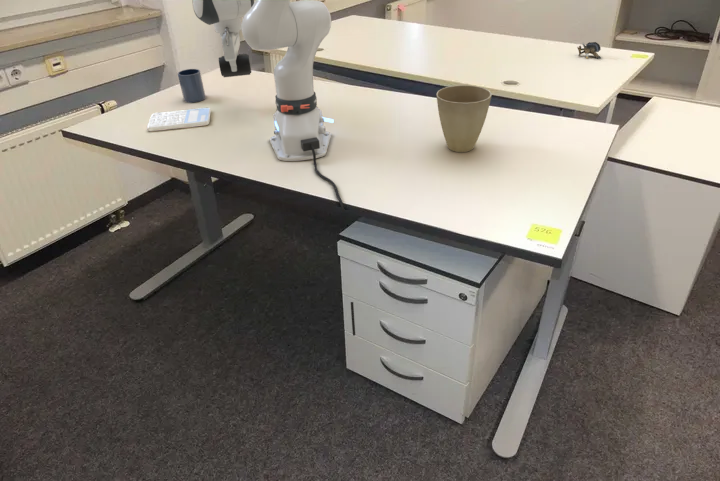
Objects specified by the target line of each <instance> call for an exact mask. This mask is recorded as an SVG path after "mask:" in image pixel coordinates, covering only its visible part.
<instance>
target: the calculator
mask: <svg viewBox="0 0 720 481" xmlns="http://www.w3.org/2000/svg"><path fill="white" fill-rule="evenodd" d="M211 109H212V108H210V107H198V108H191V109H189V108H188V109H178V110H169V111H160V112H153V113H152V114H151V115H150V117H149V120H148V122H147V125H146V128H147V131H148V132H158V131H166V130H178V129H186V128H195V127H204V126H205V127H206V126H208V125H209V124H210V120H211V114H212V110H211Z"/></svg>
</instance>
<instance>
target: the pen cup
mask: <svg viewBox="0 0 720 481" xmlns="http://www.w3.org/2000/svg"><path fill="white" fill-rule="evenodd" d="M201 73H202V72H201V70H200V69H198V68H186V69H182V70H180V71H178V72H177V77H178V81H179V86H180V90H181V94H182V97H183V102H185V103H190V104H192V103H193V104H194V103H199V102H202V101H204V100H206V99H207V98H206V91H205V87H204V81H203V77H202V74H201Z"/></svg>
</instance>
